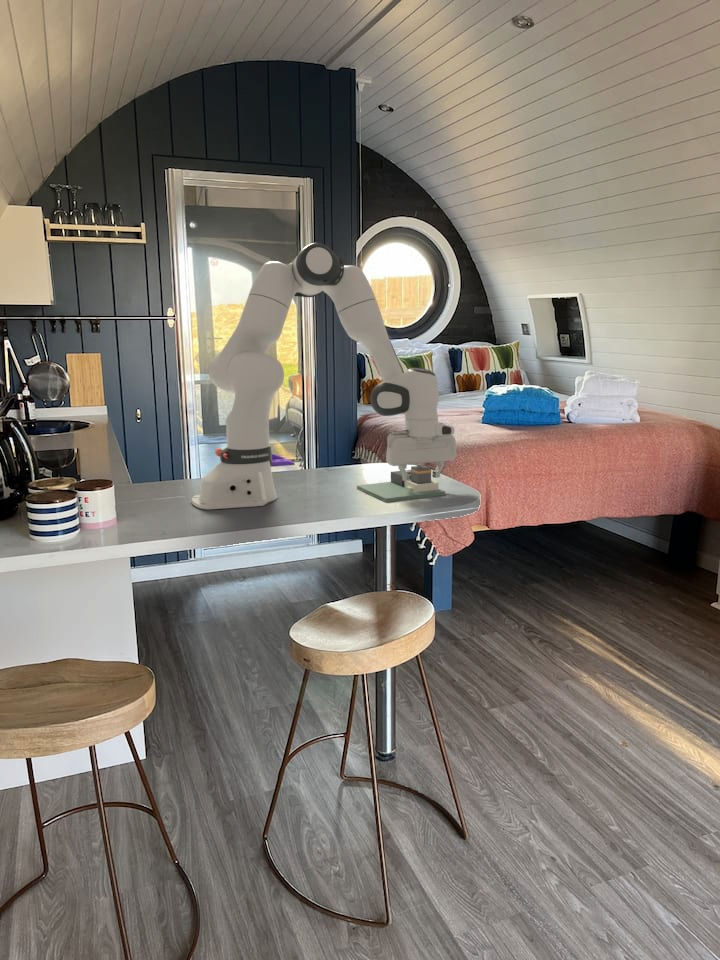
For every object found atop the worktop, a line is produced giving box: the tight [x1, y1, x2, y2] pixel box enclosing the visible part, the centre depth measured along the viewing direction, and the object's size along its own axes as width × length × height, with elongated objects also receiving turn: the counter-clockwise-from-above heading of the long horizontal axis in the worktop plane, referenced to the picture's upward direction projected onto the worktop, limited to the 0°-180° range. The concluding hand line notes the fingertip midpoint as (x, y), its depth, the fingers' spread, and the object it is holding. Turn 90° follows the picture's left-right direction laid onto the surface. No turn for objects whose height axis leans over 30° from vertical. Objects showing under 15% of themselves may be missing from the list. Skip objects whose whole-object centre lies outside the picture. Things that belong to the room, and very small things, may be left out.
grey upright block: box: [410, 463, 432, 484], centre depth 204 cm, size 4×4×7 cm
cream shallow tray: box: [405, 479, 439, 492], centre depth 204 cm, size 8×7×2 cm
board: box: [356, 481, 446, 503], centre depth 205 cm, size 18×18×1 cm
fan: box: [390, 469, 411, 487], centre depth 211 cm, size 7×7×3 cm
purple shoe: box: [271, 453, 296, 468], centre depth 244 cm, size 12×7×7 cm, turn 109°
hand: (421, 479), depth 204 cm, fingers open, 8 cm apart
